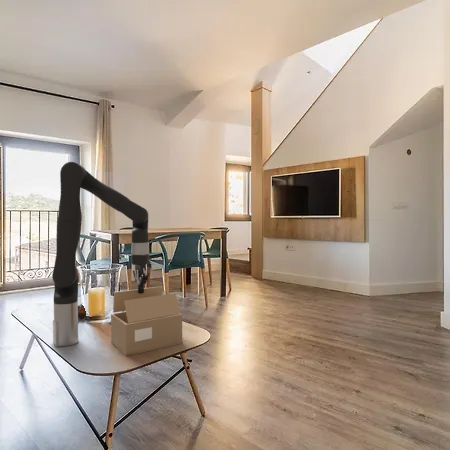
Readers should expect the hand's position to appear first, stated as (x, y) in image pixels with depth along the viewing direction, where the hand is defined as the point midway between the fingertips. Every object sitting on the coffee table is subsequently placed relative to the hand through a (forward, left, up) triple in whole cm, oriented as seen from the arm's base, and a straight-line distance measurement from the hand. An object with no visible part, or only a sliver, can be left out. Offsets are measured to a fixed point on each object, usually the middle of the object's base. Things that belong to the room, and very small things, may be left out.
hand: (140, 293), depth 153 cm
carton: (0, -6, -20) cm, 21 cm away
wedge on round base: (+1, +28, -20) cm, 34 cm away
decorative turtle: (-11, +48, -20) cm, 53 cm away
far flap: (0, +2, -3) cm, 4 cm away
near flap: (0, -13, -4) cm, 13 cm away
